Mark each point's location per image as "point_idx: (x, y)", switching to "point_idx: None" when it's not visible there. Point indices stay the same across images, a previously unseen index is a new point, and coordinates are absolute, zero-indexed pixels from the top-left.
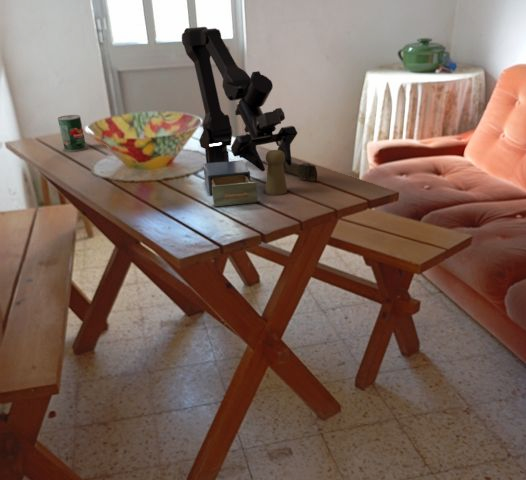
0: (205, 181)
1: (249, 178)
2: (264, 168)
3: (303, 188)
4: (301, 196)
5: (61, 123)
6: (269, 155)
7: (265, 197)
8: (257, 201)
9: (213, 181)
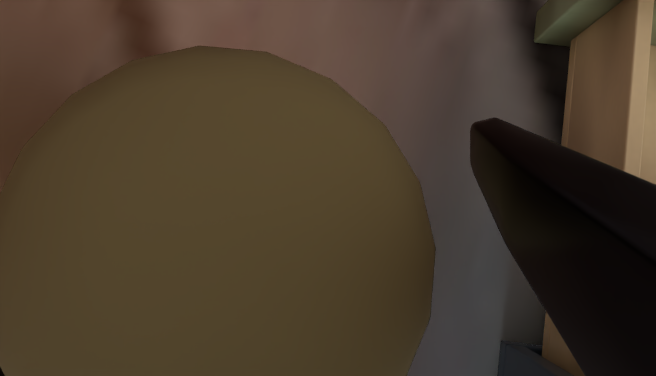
0: None
1: (565, 374)
2: (482, 124)
3: None
4: (132, 22)
5: None
6: (395, 157)
7: (425, 128)
8: (538, 10)
9: None
